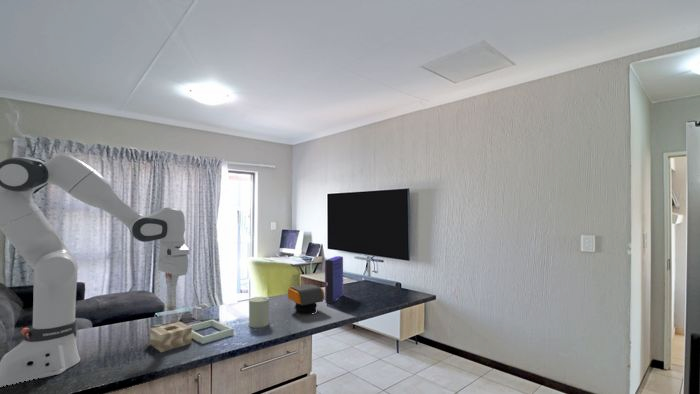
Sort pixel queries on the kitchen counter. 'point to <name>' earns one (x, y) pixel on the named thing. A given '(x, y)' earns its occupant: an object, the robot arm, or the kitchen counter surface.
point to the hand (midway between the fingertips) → (171, 284)
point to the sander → (306, 298)
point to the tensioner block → (170, 336)
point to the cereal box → (333, 278)
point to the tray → (208, 338)
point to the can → (258, 312)
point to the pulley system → (186, 318)
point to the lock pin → (170, 294)
